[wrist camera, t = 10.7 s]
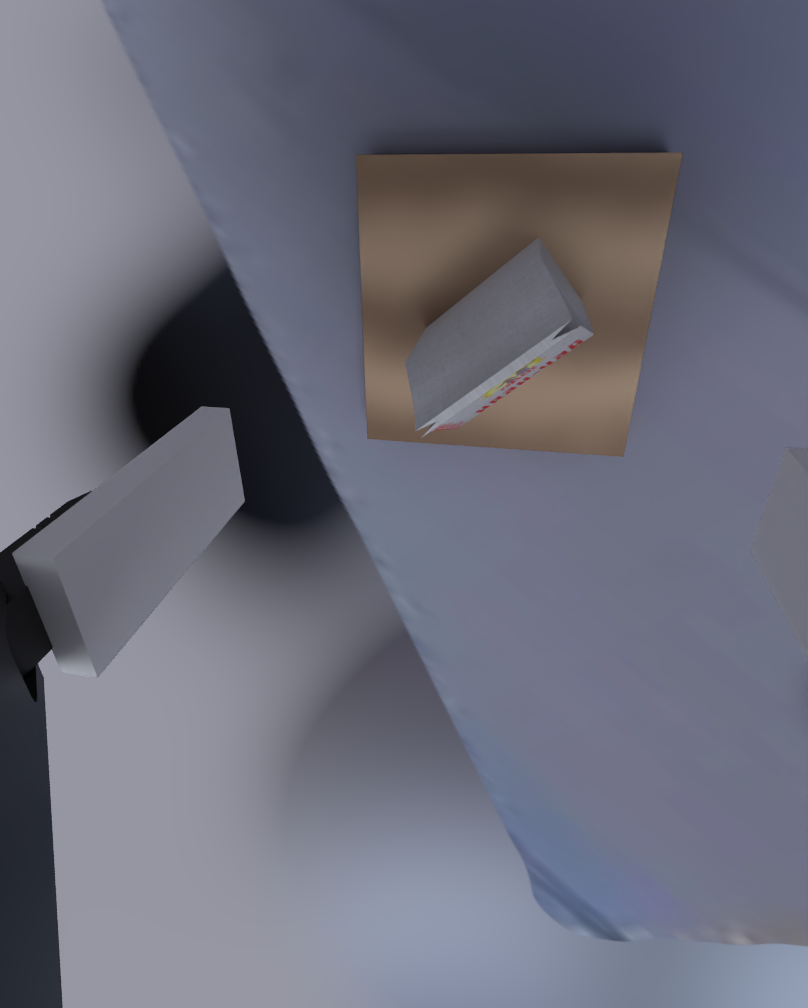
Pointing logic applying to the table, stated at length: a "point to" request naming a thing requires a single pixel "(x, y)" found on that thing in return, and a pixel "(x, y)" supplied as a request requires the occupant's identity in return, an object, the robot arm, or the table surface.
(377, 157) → the pedestal
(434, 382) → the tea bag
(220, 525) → the robot arm
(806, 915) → the table surface
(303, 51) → the table surface
